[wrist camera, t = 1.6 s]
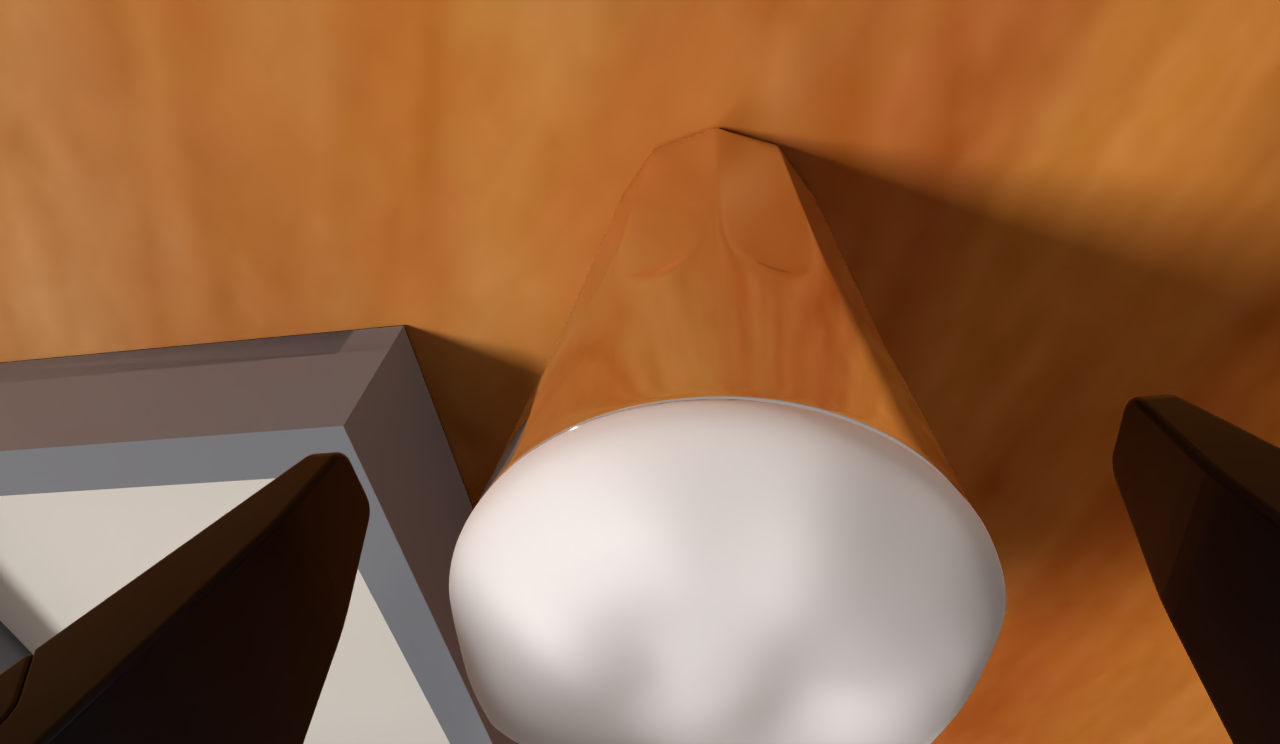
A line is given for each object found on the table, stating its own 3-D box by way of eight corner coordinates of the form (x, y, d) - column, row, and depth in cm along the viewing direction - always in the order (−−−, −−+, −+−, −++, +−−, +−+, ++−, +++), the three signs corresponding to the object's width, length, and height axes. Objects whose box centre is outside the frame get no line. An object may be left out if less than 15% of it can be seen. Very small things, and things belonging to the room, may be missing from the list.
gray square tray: (557, 732, 23) (538, 843, 20) (128, 738, 25) (64, 838, 22) (403, 325, 15) (343, 425, 12) (-209, 382, 17) (-364, 478, 14)
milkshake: (598, 373, 15) (465, 1018, 7) (566, 89, 12) (267, 655, 4) (837, 372, 15) (990, 1056, 7) (868, 78, 12) (1229, 685, 4)
